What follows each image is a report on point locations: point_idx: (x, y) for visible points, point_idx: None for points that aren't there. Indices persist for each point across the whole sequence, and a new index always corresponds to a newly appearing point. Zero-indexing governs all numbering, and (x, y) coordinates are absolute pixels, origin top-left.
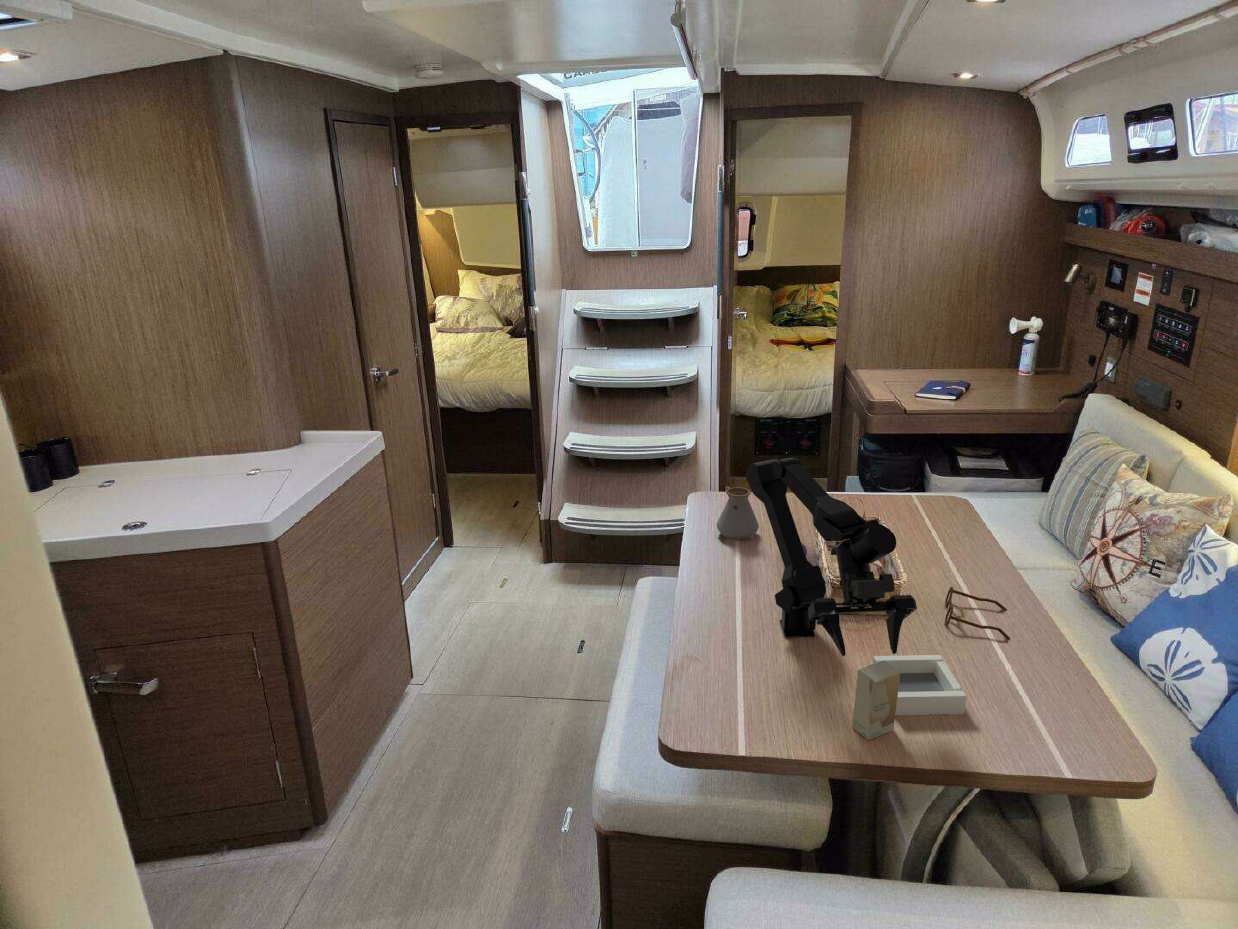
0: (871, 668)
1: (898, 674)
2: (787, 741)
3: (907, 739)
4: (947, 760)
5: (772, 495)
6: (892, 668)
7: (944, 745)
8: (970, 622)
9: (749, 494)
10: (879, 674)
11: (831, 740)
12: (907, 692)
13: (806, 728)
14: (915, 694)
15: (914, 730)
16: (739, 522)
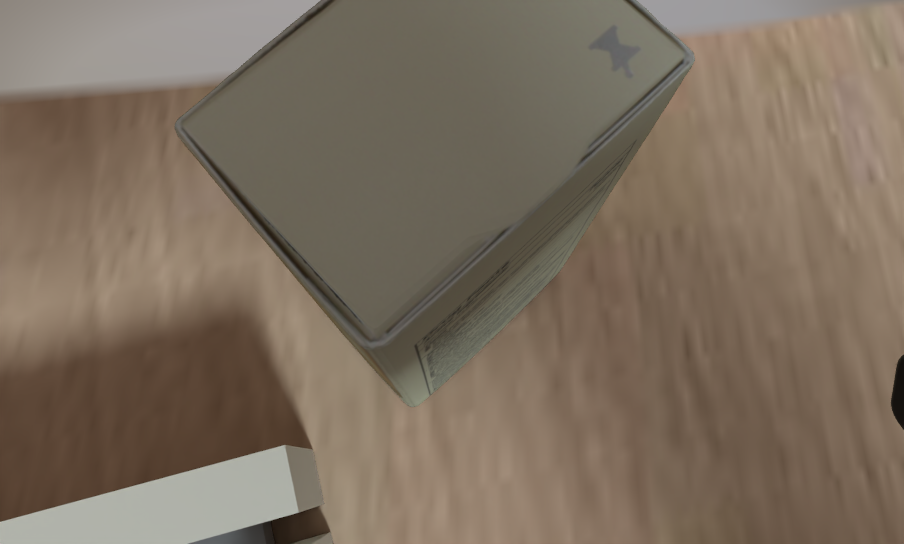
0: (538, 107)
1: (207, 104)
2: (885, 83)
3: (245, 239)
4: (54, 116)
5: None
6: (268, 176)
7: (40, 233)
8: None
9: None
10: (441, 6)
11: (663, 139)
12: (169, 538)
13: (810, 208)
14: (107, 525)
15: (192, 331)
16: None
